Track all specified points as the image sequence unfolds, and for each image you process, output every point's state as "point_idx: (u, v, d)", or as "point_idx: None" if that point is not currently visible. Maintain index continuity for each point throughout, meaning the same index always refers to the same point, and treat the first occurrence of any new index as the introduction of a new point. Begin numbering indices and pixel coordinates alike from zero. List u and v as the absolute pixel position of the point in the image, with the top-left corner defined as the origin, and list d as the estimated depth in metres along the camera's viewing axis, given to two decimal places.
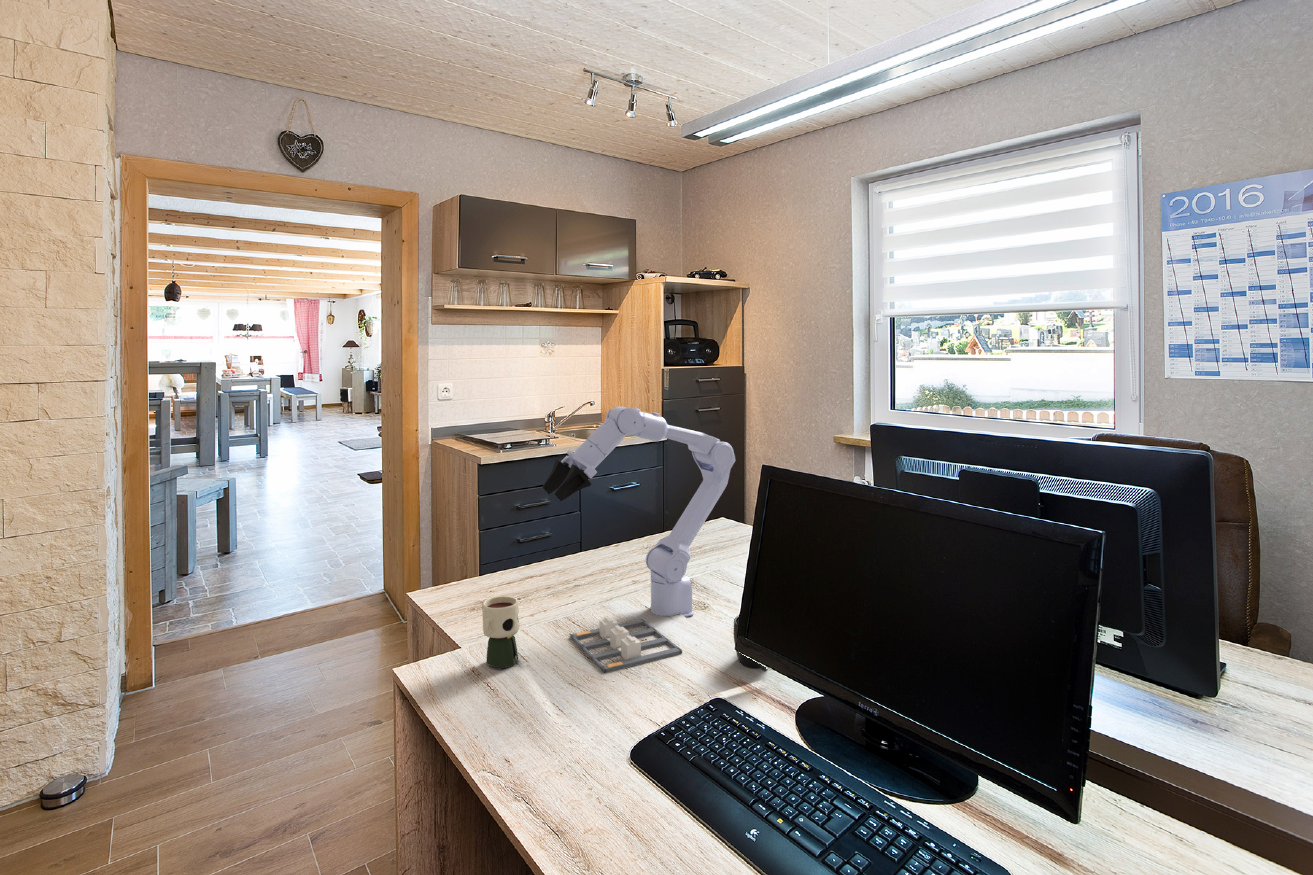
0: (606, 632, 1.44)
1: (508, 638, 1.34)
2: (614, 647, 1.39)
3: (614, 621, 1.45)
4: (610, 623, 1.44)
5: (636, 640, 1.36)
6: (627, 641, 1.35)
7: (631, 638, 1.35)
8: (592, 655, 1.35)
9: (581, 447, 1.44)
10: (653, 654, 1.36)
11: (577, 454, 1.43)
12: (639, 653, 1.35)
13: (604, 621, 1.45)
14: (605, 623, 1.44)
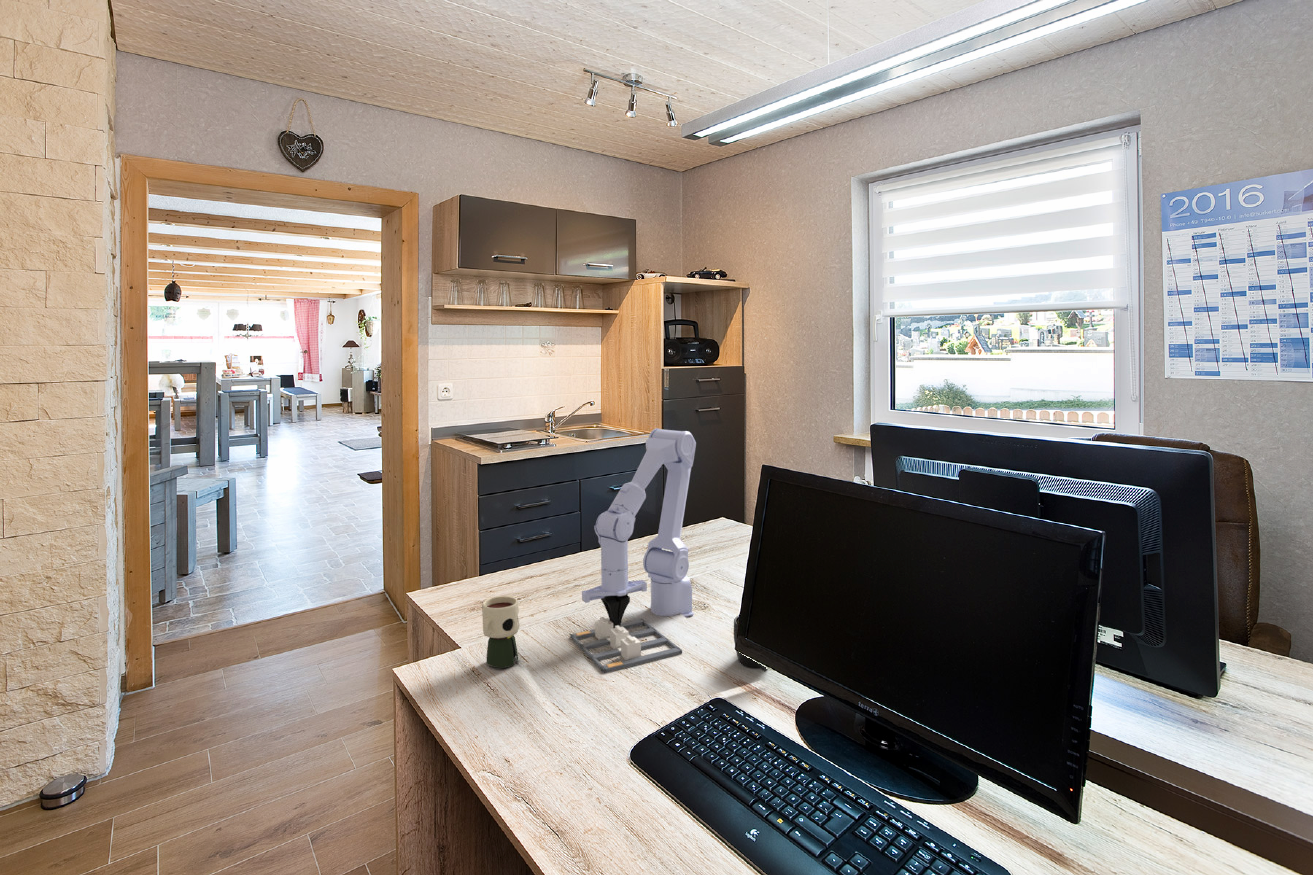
0: (602, 633, 1.43)
1: (508, 638, 1.34)
2: (614, 647, 1.39)
3: (609, 622, 1.44)
4: (605, 624, 1.43)
5: (636, 640, 1.36)
6: (627, 641, 1.35)
7: (631, 638, 1.35)
8: (592, 655, 1.35)
9: (622, 580, 1.42)
10: (653, 654, 1.36)
11: (624, 587, 1.43)
12: (639, 653, 1.35)
13: (599, 622, 1.45)
14: (600, 624, 1.43)
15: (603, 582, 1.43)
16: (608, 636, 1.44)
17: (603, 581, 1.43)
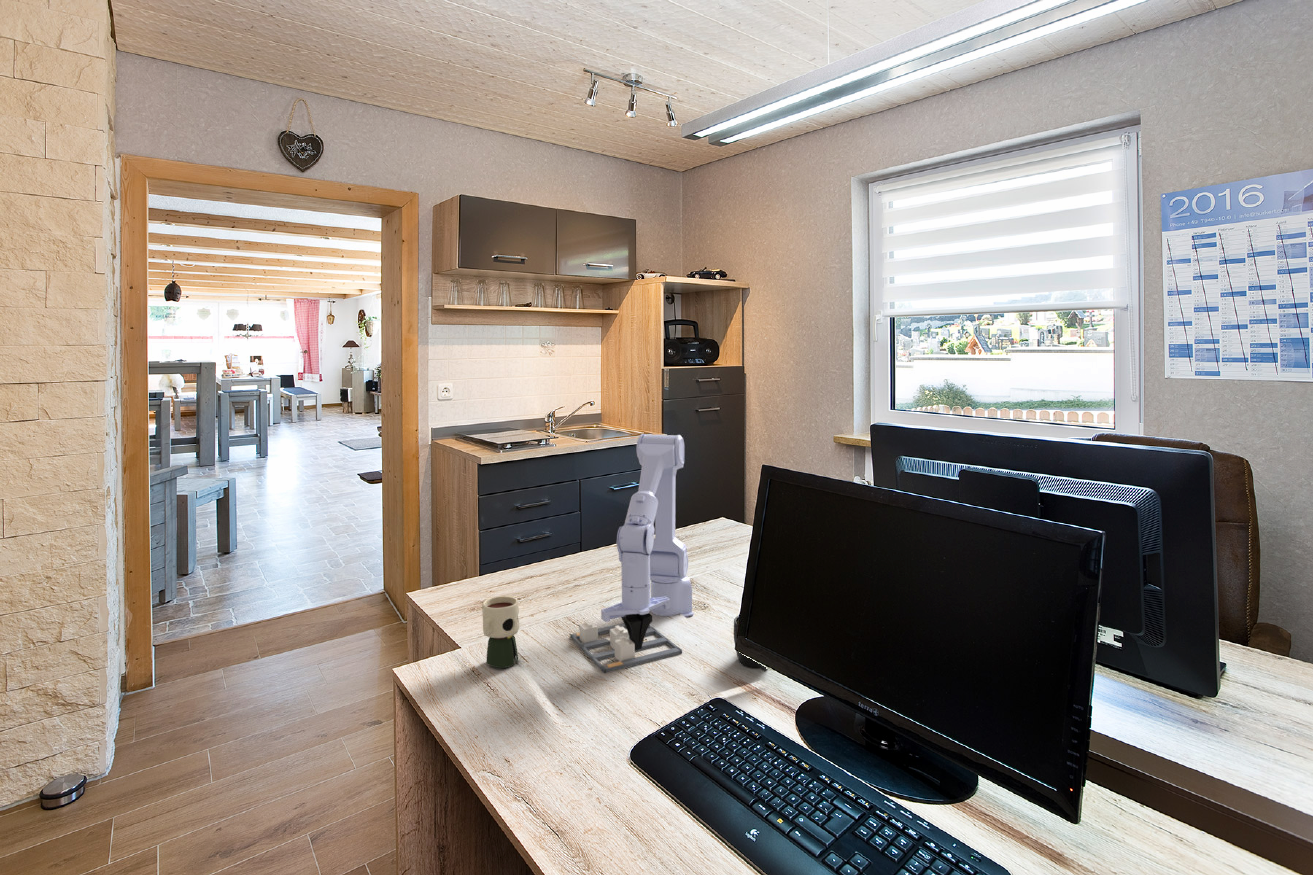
0: (586, 636, 1.41)
1: (508, 638, 1.34)
2: (614, 647, 1.39)
3: (594, 625, 1.43)
4: (590, 627, 1.42)
5: (630, 641, 1.35)
6: (621, 642, 1.35)
7: (625, 639, 1.34)
8: (592, 655, 1.35)
9: (644, 597, 1.33)
10: (653, 654, 1.36)
11: (647, 605, 1.33)
12: (633, 655, 1.34)
13: (584, 625, 1.43)
14: (585, 627, 1.42)
15: (624, 599, 1.33)
16: (592, 640, 1.42)
17: (624, 598, 1.33)
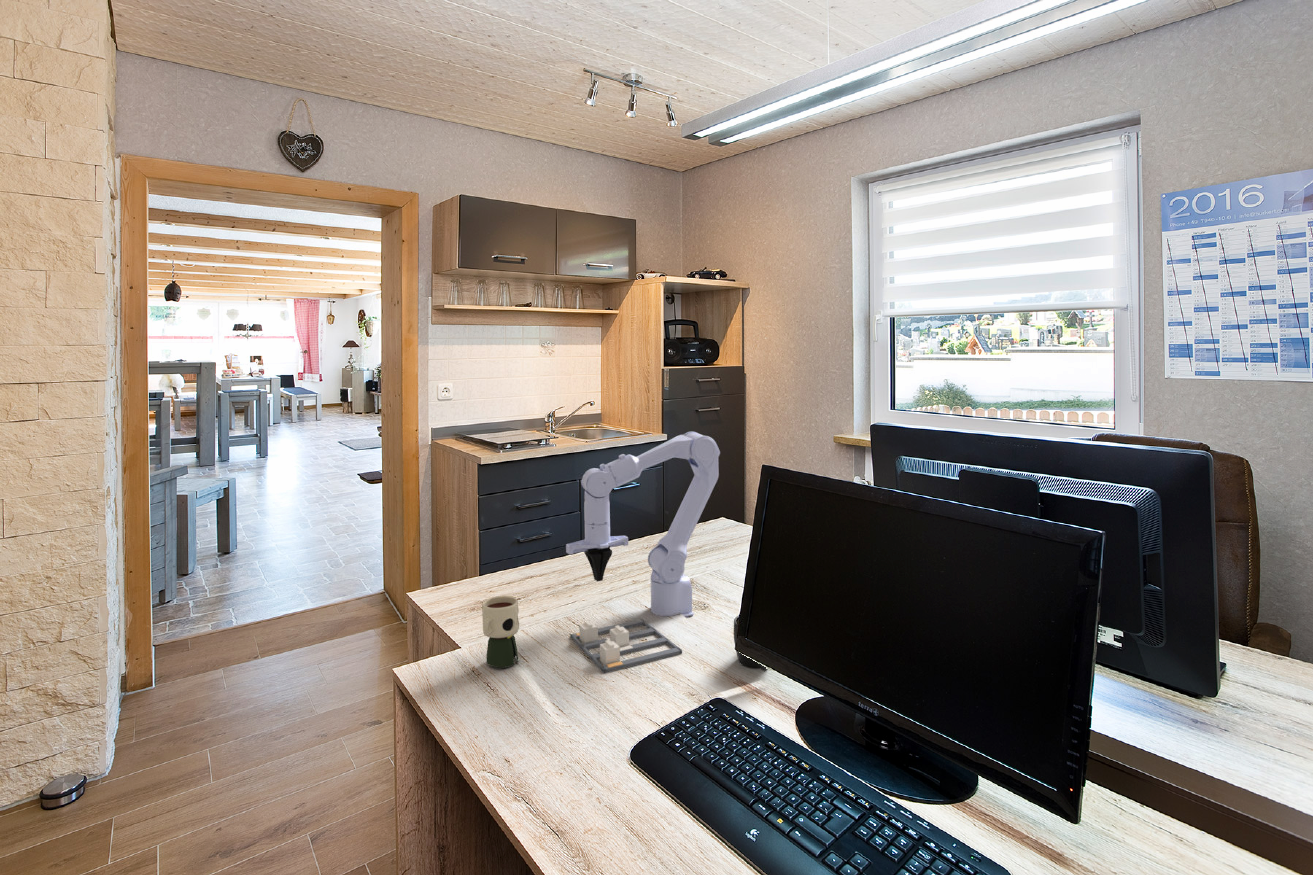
0: (586, 636, 1.41)
1: (508, 638, 1.34)
2: None
3: (594, 625, 1.43)
4: (590, 627, 1.42)
5: (615, 645, 1.33)
6: (606, 646, 1.33)
7: (610, 643, 1.33)
8: (592, 655, 1.35)
9: (604, 533, 1.50)
10: (653, 654, 1.36)
11: (606, 540, 1.51)
12: (618, 658, 1.33)
13: (584, 625, 1.43)
14: (585, 627, 1.42)
15: (587, 535, 1.51)
16: (592, 640, 1.42)
17: (586, 535, 1.51)
